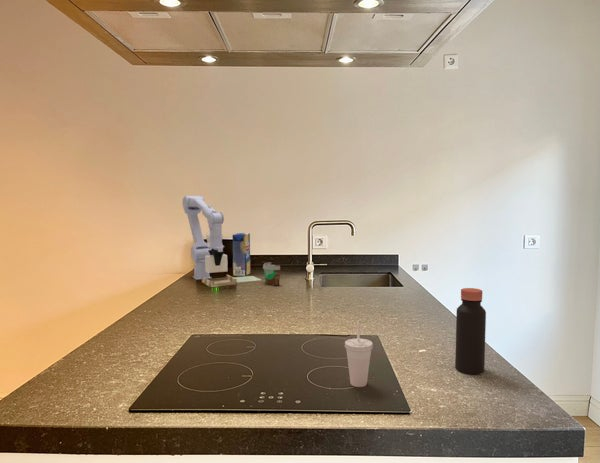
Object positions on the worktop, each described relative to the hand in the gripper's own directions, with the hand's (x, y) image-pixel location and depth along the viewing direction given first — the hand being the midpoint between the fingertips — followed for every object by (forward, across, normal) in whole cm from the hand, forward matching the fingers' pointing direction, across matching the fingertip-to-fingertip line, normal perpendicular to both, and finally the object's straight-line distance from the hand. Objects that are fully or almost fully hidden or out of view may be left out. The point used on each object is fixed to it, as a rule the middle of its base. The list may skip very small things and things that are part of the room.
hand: (216, 264), depth 224 cm
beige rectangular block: (+3, 0, 0) cm, 3 cm away
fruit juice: (+9, +39, -11) cm, 41 cm away
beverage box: (+9, +16, -19) cm, 26 cm away
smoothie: (+9, -132, +7) cm, 133 cm away
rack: (+9, -4, 0) cm, 10 cm away
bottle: (+9, -138, -22) cm, 140 cm away
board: (+9, 0, -15) cm, 17 cm away
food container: (+9, -17, -21) cm, 29 cm away
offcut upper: (+8, -8, 0) cm, 11 cm away
